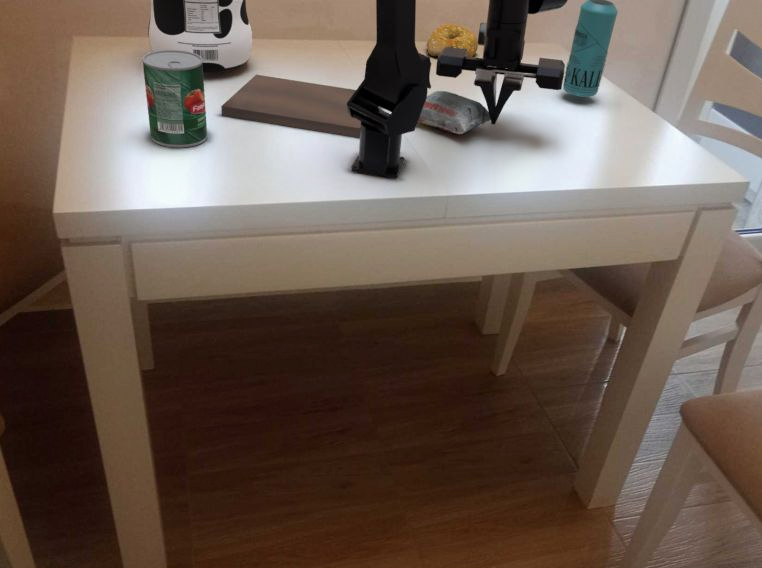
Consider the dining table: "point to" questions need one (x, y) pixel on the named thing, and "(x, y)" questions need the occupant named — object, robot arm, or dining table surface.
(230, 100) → the bread board
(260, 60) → the dining table surface
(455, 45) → the bagel
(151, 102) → the canned tomato
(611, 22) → the beverage bottle
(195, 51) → the milk container
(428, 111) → the packaged food
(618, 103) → the dining table surface
